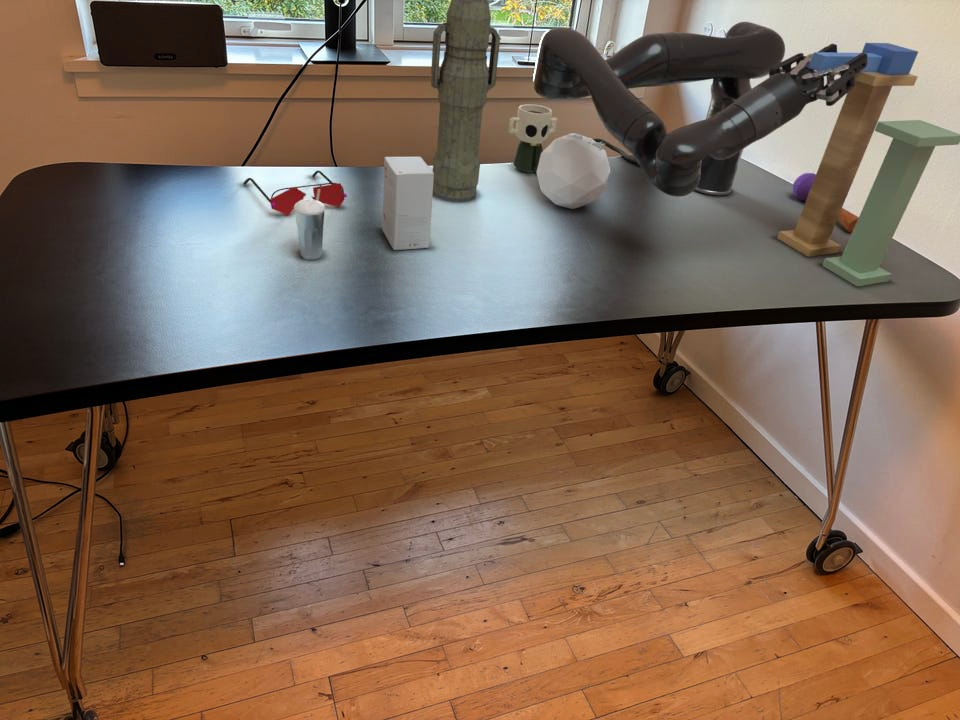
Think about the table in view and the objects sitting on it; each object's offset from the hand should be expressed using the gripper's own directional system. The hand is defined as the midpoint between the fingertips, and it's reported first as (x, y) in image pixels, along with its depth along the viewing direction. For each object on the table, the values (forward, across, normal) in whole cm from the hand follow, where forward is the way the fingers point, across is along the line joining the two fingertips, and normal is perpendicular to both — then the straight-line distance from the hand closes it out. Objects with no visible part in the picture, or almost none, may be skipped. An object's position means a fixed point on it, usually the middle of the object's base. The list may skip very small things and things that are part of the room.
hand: (849, 53), depth 113 cm
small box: (-75, +19, -3) cm, 77 cm away
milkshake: (-89, +16, -12) cm, 91 cm away
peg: (+1, 0, +3) cm, 4 cm away
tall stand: (-10, 0, +34) cm, 35 cm away
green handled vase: (-61, +36, +5) cm, 71 cm away
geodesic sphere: (-43, +27, +15) cm, 53 cm away
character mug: (-43, +46, +15) cm, 65 cm away
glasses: (-87, +40, -10) cm, 97 cm away
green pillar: (-10, -12, +34) cm, 37 cm away
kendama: (+4, +12, +42) cm, 44 cm away
